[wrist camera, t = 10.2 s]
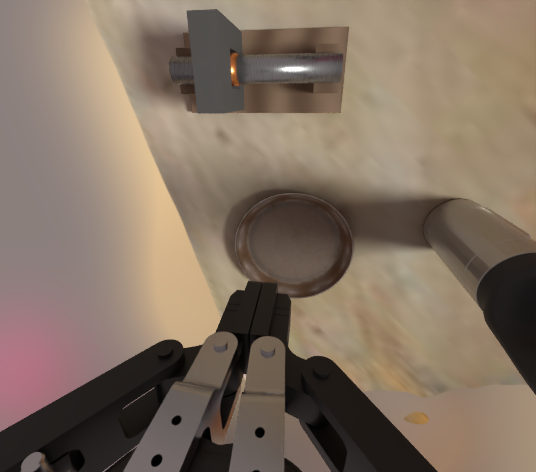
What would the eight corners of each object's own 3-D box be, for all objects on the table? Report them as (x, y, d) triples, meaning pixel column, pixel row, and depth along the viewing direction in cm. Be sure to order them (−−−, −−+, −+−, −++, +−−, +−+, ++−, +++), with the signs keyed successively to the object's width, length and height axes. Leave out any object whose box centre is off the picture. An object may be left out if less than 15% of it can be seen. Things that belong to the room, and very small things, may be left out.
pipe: (341, 52, 33) (344, 48, 30) (338, 85, 35) (341, 84, 32) (179, 56, 36) (166, 52, 33) (182, 87, 37) (171, 86, 34)
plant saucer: (311, 163, 46) (310, 168, 43) (372, 258, 52) (376, 268, 49) (216, 226, 53) (211, 234, 50) (280, 303, 59) (278, 314, 56)
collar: (241, 32, 36) (217, 9, 27) (244, 109, 40) (224, 113, 31) (218, 32, 36) (186, 10, 27) (223, 109, 40) (197, 113, 31)
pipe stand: (347, 29, 37) (354, 15, 31) (339, 112, 42) (344, 114, 35) (187, 35, 40) (164, 23, 34) (195, 112, 44) (176, 114, 38)
